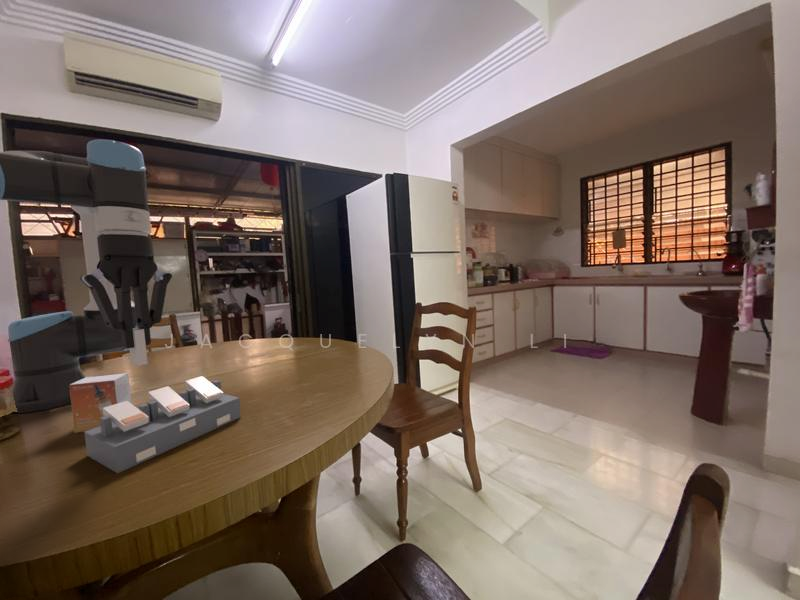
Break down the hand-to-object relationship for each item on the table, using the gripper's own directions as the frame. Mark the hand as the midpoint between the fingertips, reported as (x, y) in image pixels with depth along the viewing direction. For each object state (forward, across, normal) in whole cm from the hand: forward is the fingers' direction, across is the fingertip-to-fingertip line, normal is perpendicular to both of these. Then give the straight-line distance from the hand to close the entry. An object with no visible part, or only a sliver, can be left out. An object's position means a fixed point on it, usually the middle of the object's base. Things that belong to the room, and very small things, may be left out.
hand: (139, 363), depth 59 cm
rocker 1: (+9, -3, 0) cm, 9 cm away
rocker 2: (+9, +4, 0) cm, 10 cm away
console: (+16, +4, 0) cm, 16 cm away
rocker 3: (+9, +11, 0) cm, 14 cm away
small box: (+16, 0, +19) cm, 25 cm away
